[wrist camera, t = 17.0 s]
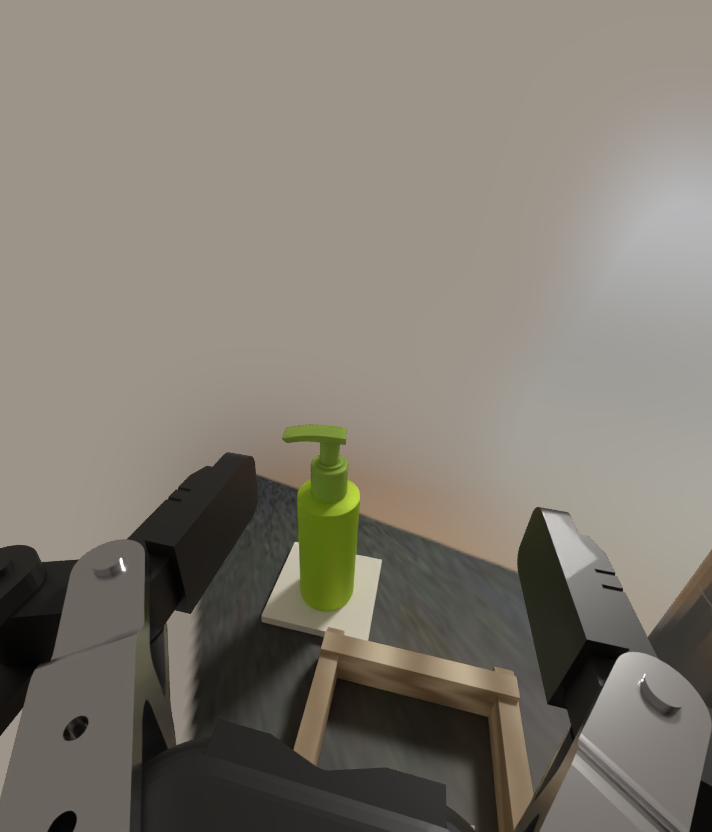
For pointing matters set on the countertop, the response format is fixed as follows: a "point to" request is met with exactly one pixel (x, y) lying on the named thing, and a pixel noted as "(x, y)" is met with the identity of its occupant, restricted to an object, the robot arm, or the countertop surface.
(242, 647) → the countertop surface
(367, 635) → the cream tile
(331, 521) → the soap dispenser
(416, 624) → the countertop surface
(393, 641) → the countertop surface
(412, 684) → the pine rack
